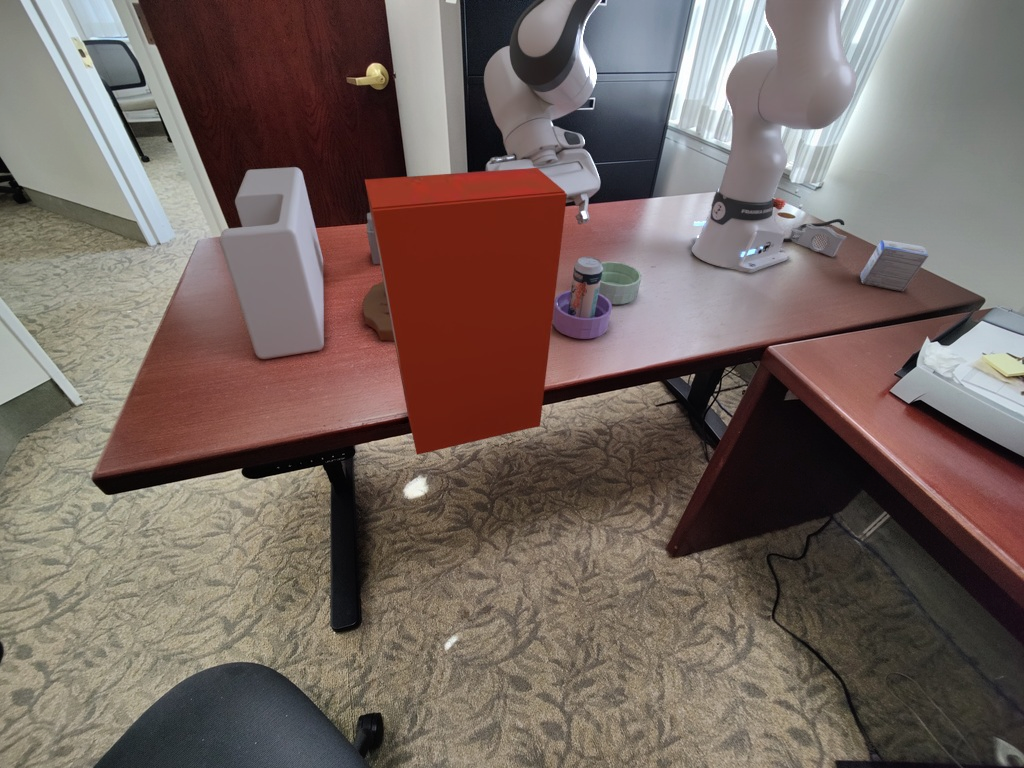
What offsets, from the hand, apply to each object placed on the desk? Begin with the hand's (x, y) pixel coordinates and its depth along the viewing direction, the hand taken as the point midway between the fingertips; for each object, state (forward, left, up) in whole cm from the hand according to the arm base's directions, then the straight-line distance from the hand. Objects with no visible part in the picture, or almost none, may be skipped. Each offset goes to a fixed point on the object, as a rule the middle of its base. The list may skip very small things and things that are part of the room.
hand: (563, 227), depth 75 cm
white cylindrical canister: (-2, +7, -15) cm, 17 cm away
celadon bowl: (-13, -1, -16) cm, 20 cm away
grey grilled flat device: (-73, -6, -16) cm, 75 cm away
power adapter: (+30, -30, -16) cm, 45 cm away
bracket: (+47, -18, -16) cm, 53 cm away
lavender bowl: (-2, +7, -16) cm, 17 cm away
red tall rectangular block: (+24, +25, -16) cm, 38 cm away
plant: (+26, -6, -16) cm, 31 cm away
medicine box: (-73, +13, -16) cm, 76 cm away
